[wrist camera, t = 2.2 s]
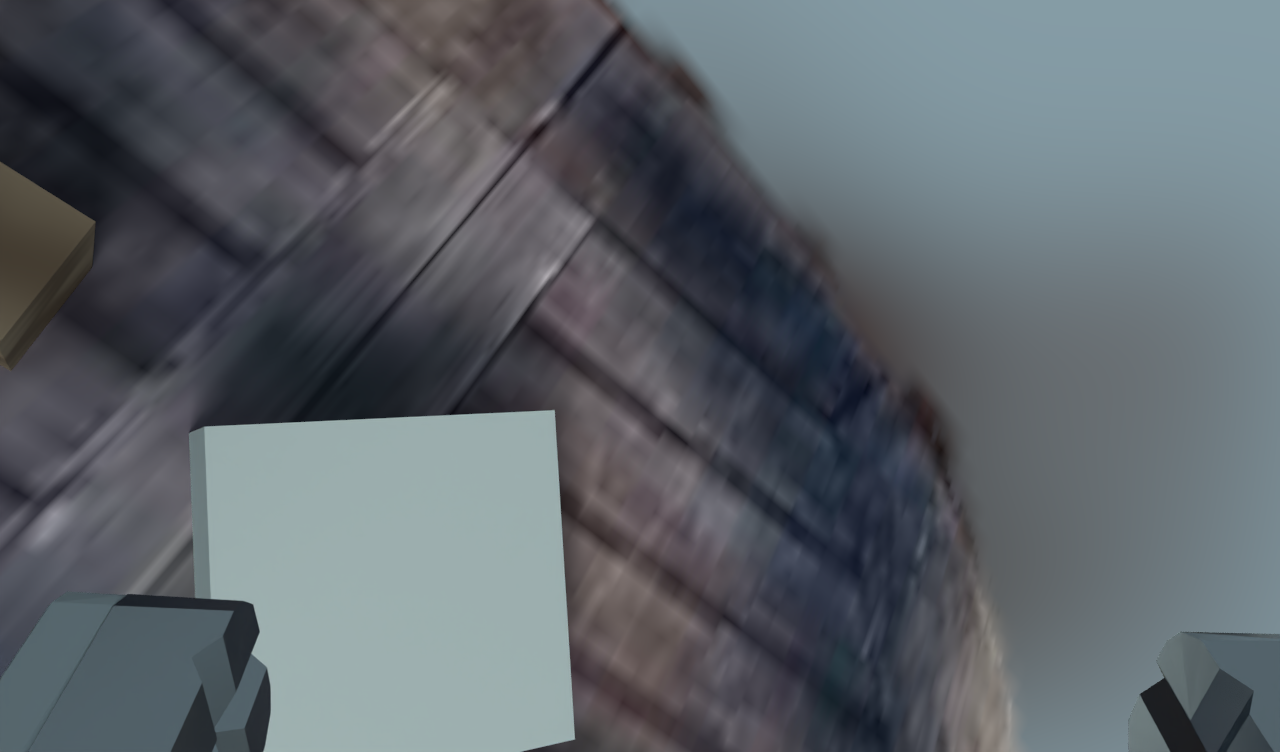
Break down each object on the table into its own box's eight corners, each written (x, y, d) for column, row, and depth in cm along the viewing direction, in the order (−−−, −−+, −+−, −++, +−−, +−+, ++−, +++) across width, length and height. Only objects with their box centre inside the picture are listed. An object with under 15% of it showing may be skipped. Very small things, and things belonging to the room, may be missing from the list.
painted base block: (201, 777, 40) (219, 820, 35) (188, 433, 41) (204, 426, 36) (520, 710, 47) (574, 739, 42) (503, 417, 48) (554, 410, 43)
